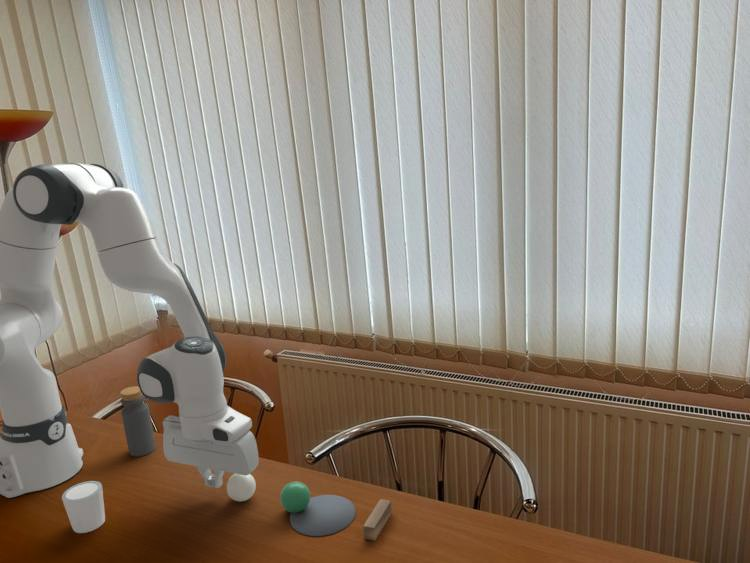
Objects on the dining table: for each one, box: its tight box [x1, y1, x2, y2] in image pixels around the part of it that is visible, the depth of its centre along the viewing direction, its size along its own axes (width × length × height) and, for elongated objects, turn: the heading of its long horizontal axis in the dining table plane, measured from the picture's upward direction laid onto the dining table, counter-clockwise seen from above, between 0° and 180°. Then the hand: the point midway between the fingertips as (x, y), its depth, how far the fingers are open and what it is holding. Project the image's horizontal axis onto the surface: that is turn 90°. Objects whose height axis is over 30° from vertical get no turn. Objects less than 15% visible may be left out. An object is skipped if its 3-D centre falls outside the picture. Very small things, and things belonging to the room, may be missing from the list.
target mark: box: [289, 494, 356, 537], centre depth 111 cm, size 12×12×1 cm
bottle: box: [120, 385, 157, 457], centre depth 139 cm, size 6×6×15 cm
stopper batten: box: [362, 498, 393, 542], centre depth 107 cm, size 2×8×2 cm, turn 158°
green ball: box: [279, 481, 311, 514], centre depth 113 cm, size 6×6×6 cm
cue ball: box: [226, 473, 257, 503], centre depth 118 cm, size 6×6×6 cm
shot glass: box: [61, 480, 106, 534], centre depth 114 cm, size 7×7×7 cm
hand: (214, 485), depth 119 cm, fingers closed
